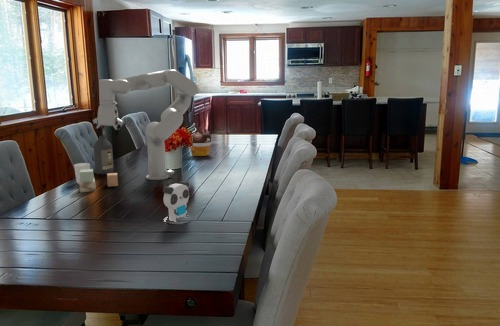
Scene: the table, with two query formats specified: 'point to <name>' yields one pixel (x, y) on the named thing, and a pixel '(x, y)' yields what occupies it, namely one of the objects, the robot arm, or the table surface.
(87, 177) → the sage top block
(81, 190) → the beech base block
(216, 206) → the table surface
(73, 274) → the table surface
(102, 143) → the liquor
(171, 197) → the panda figurine
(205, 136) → the bucket of meat
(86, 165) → the white cup
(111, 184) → the terracotta block
